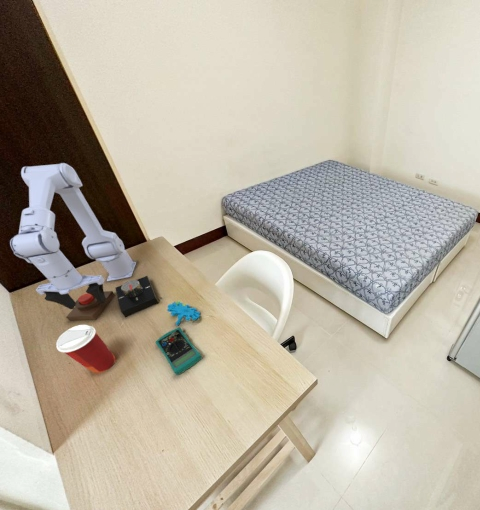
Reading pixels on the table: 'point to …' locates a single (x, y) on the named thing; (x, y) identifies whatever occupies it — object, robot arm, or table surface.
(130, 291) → the dial
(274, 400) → the table surface
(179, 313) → the blue toy tree
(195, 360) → the digital multimeter
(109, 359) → the paper cup
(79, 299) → the button
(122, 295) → the dial panel
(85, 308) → the button block
